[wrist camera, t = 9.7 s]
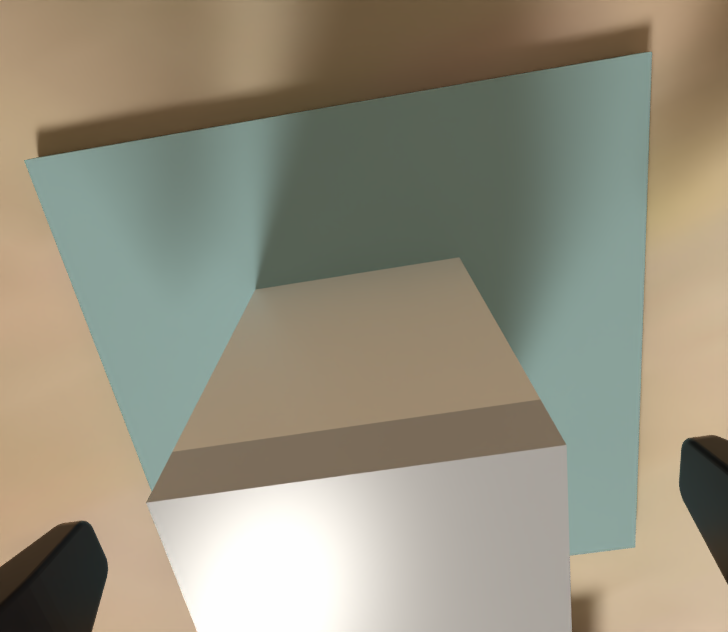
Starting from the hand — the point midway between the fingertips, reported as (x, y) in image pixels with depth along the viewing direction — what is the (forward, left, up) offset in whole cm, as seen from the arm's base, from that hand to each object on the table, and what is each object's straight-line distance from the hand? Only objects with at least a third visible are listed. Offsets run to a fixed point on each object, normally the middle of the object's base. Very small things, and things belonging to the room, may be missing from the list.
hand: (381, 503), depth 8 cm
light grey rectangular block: (0, 0, -4) cm, 4 cm away
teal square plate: (0, 0, -4) cm, 4 cm away
